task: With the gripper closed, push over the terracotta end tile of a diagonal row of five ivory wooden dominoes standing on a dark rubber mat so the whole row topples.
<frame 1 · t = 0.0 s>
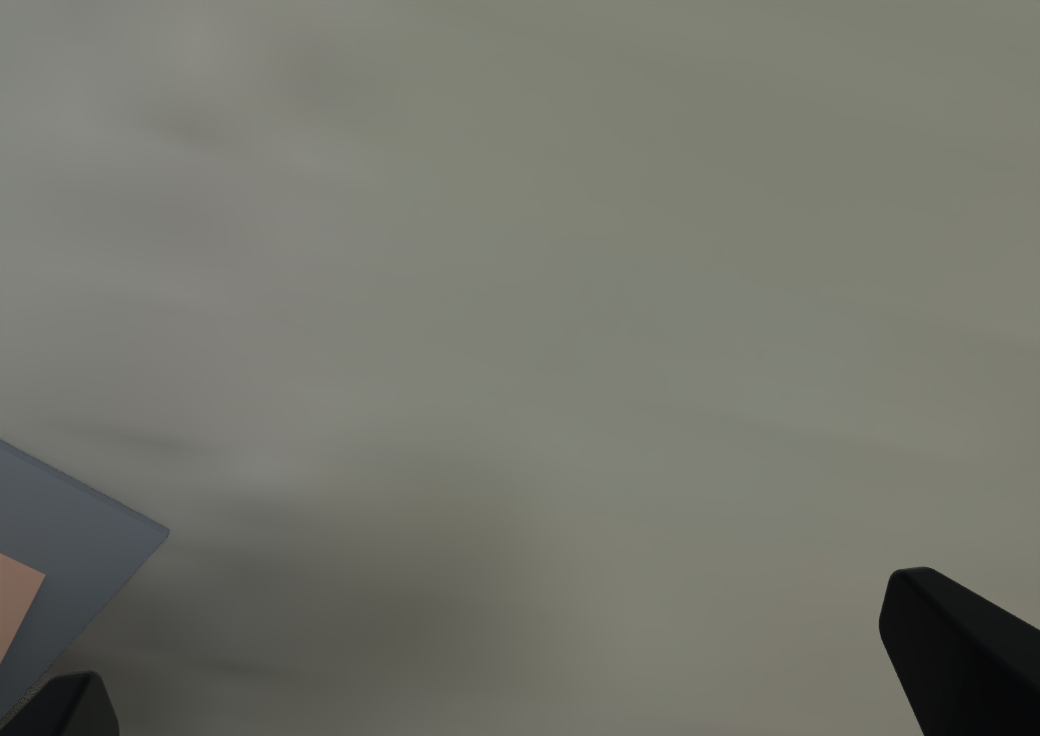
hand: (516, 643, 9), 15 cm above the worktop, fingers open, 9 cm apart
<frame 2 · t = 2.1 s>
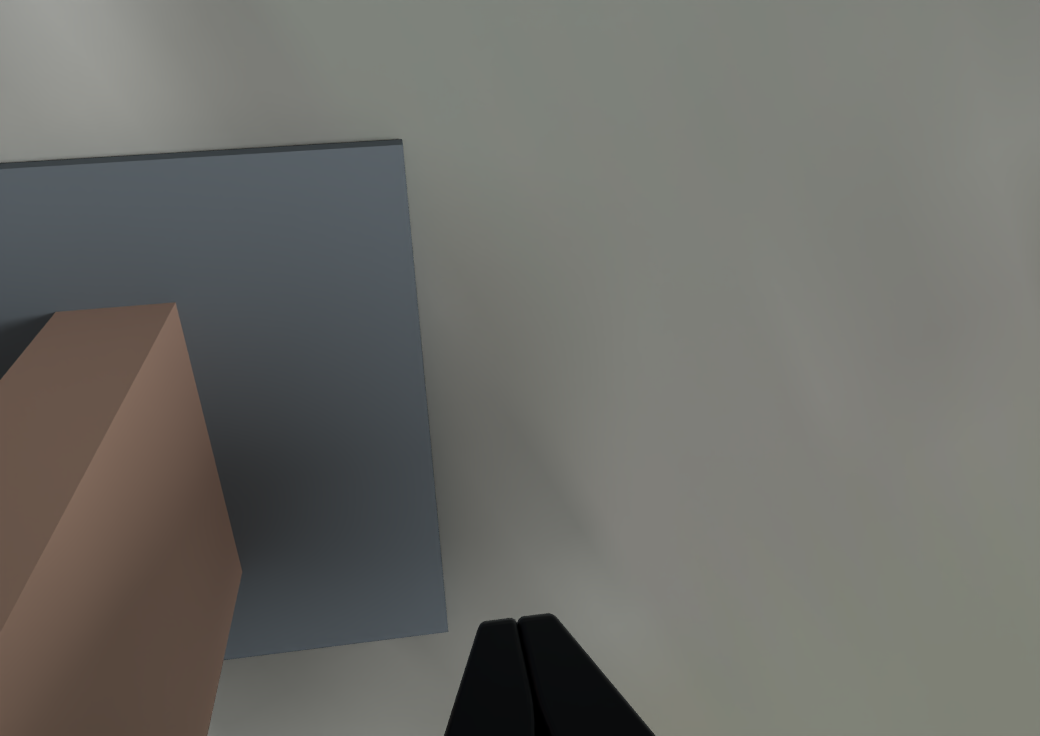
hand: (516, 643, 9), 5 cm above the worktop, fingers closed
domino 1: (158, 454, 13), resting on mat
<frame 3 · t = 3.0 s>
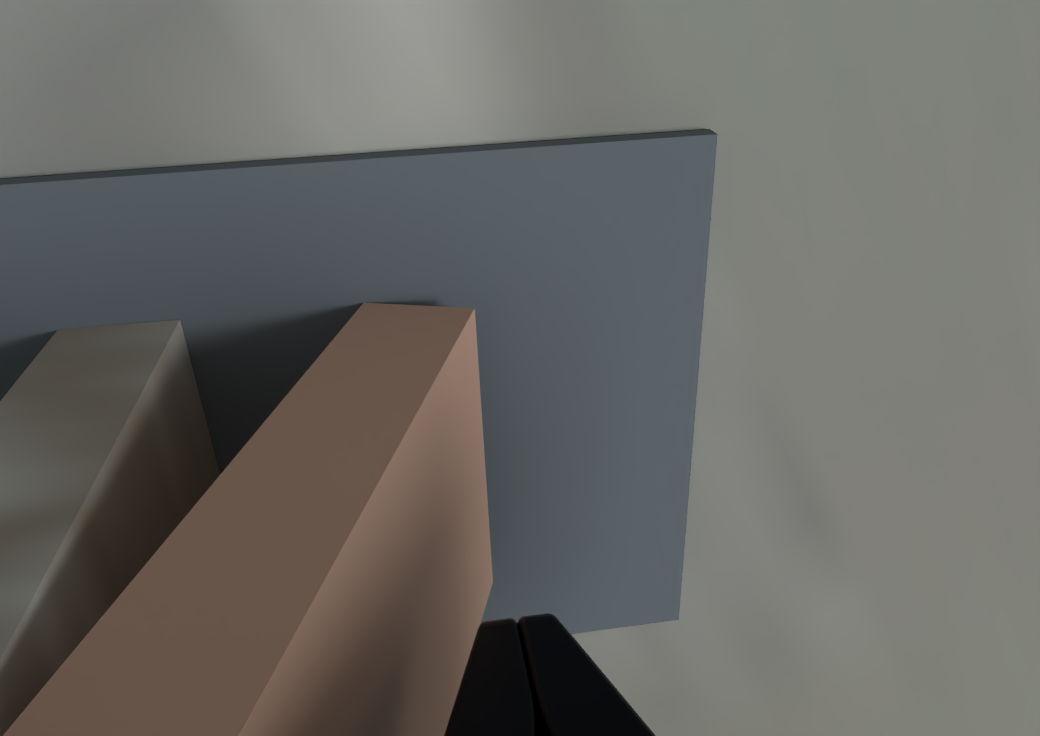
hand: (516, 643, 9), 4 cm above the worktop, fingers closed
domino 2: (163, 474, 13), resting on mat
domino 1: (433, 454, 13), point 1 cm above the worktop, tilted 19°, touching mat
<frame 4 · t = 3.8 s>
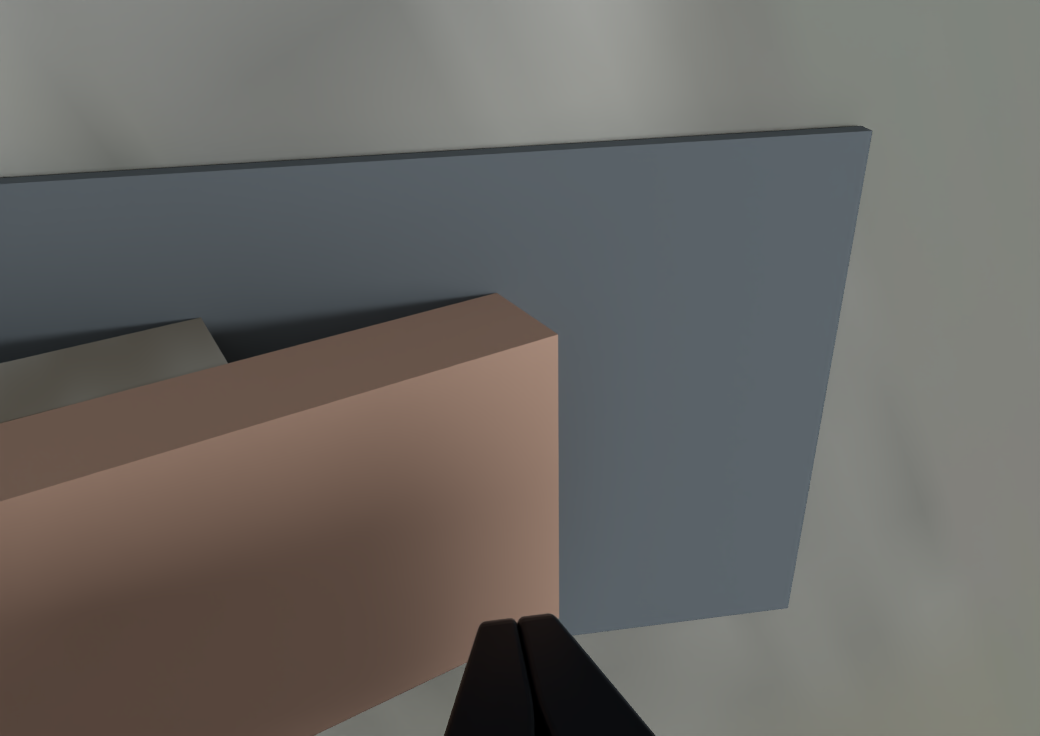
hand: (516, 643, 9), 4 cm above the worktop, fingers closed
domino 2: (248, 493, 12), point 1 cm above the worktop, tilted 68°, touching domino 1, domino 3, mat
domino 1: (529, 463, 13), point 1 cm above the worktop, tilted 67°, touching domino 2, mat
mat: (30, 475, 13), on the worktop
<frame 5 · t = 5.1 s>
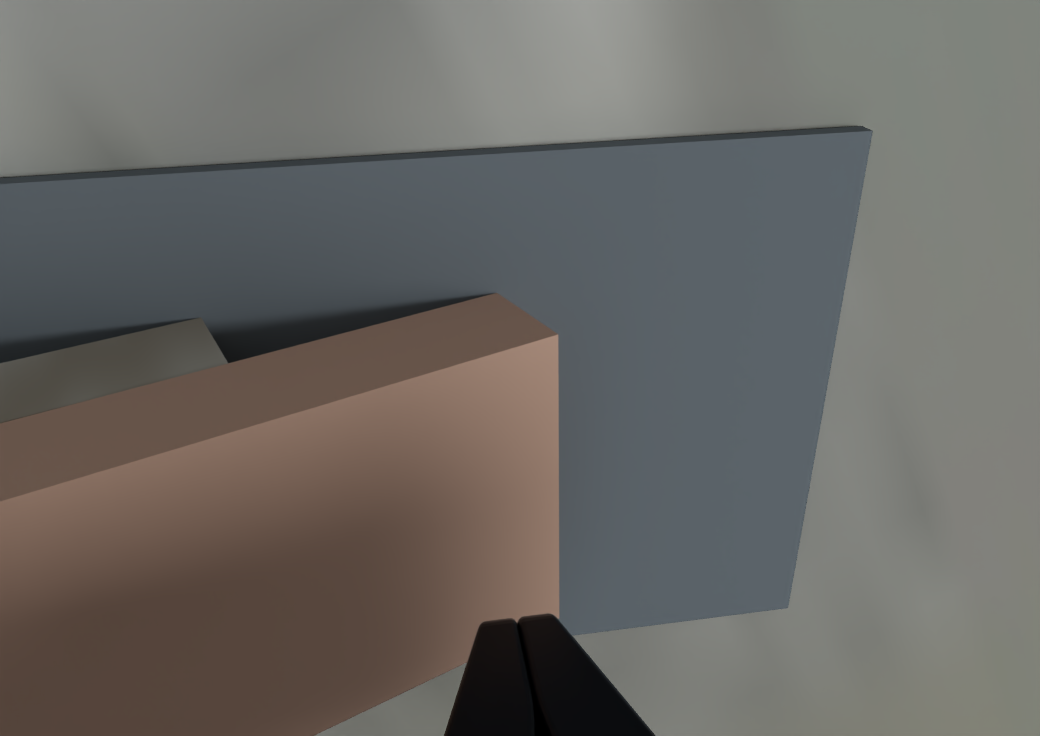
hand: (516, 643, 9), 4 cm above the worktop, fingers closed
domino 2: (248, 493, 12), point 1 cm above the worktop, tilted 68°, touching domino 1, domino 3, mat
domino 1: (529, 463, 13), point 1 cm above the worktop, tilted 67°, touching domino 2, mat
mat: (30, 475, 13), on the worktop
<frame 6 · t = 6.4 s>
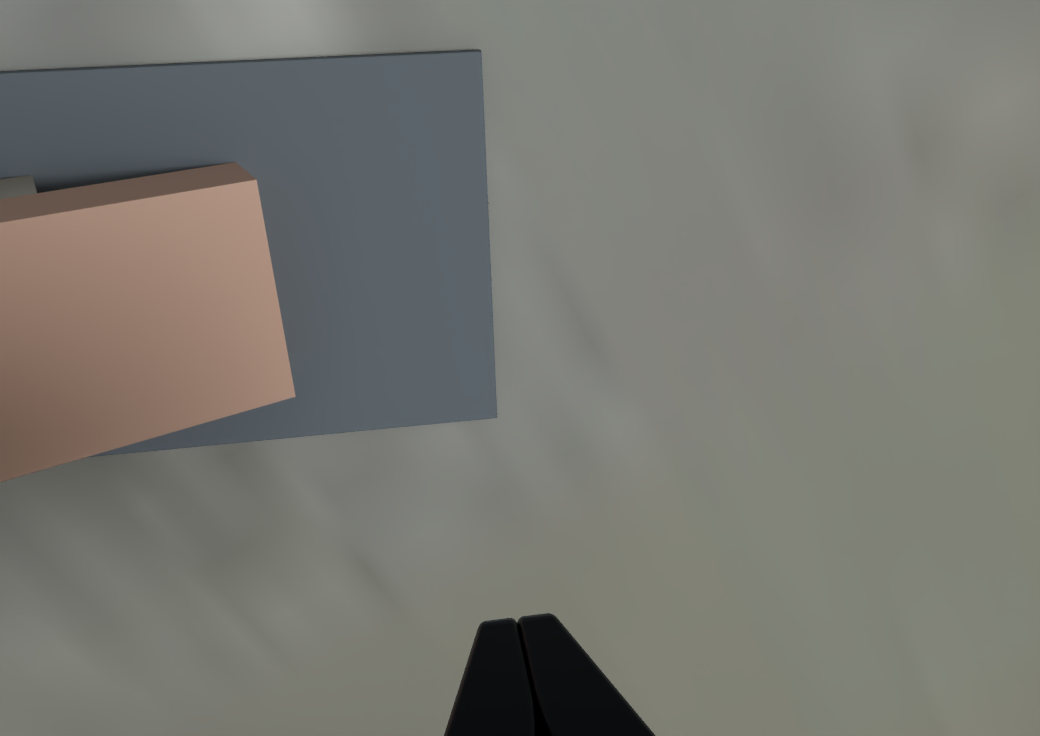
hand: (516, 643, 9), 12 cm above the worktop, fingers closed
domino 2: (69, 298, 18), point 1 cm above the worktop, tilted 68°, touching domino 1, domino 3, mat
domino 1: (266, 283, 18), point 1 cm above the worktop, tilted 67°, touching domino 2, mat
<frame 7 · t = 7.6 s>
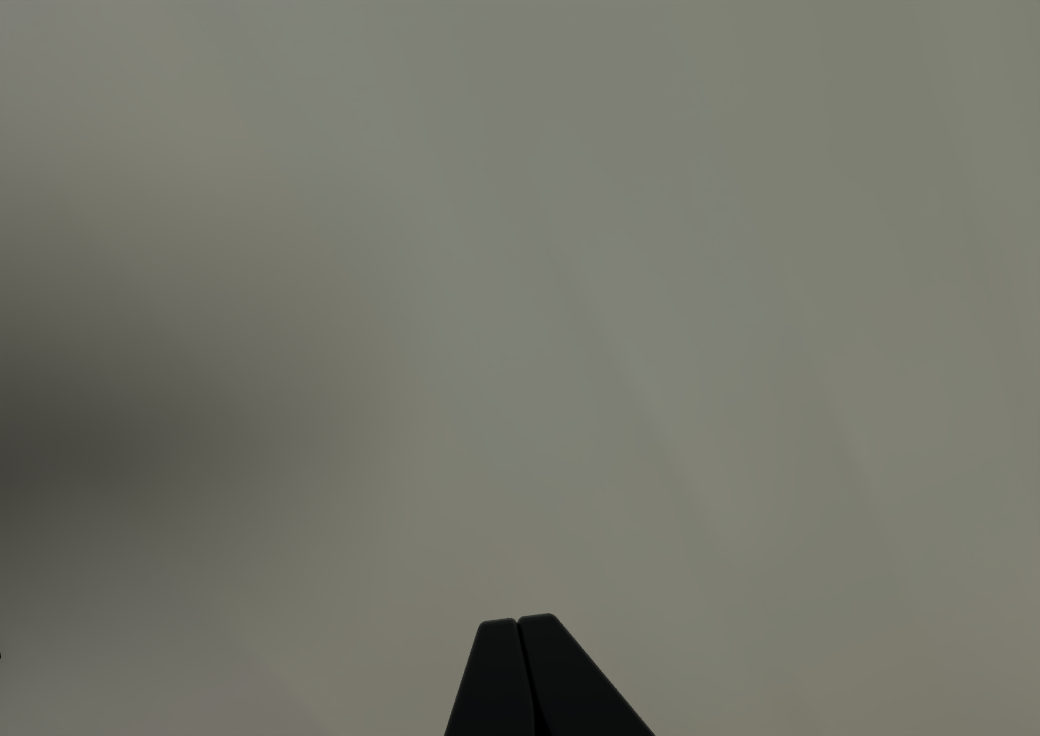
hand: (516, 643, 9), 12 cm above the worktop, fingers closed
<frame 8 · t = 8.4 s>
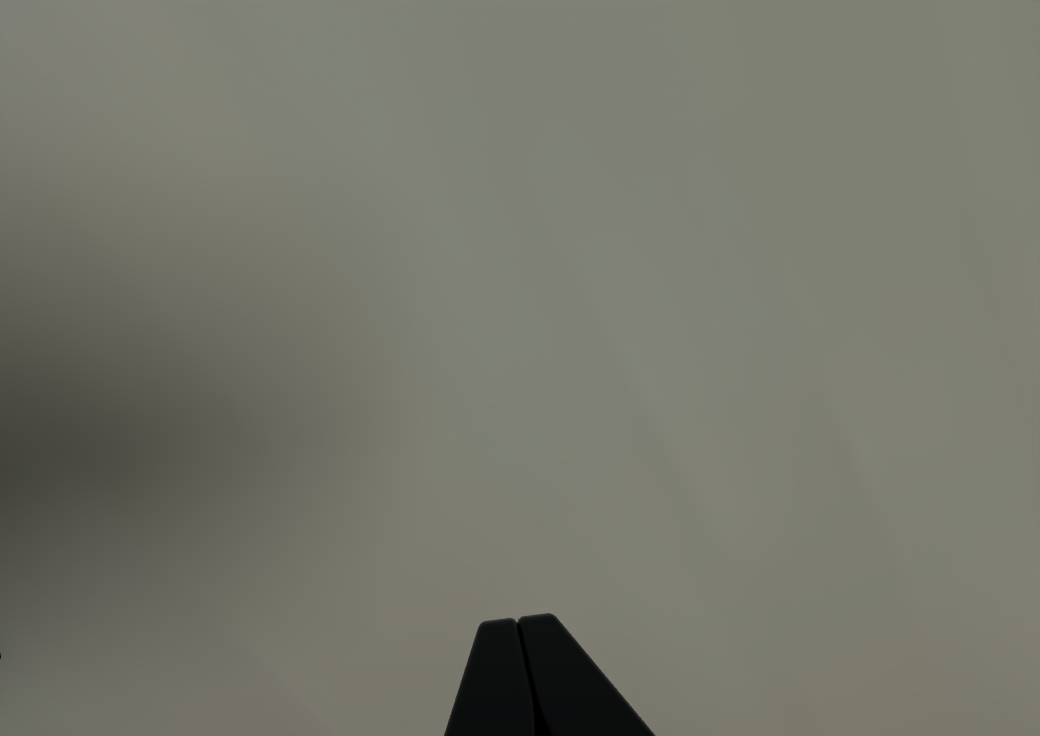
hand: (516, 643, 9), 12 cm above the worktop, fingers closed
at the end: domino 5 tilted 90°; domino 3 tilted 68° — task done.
